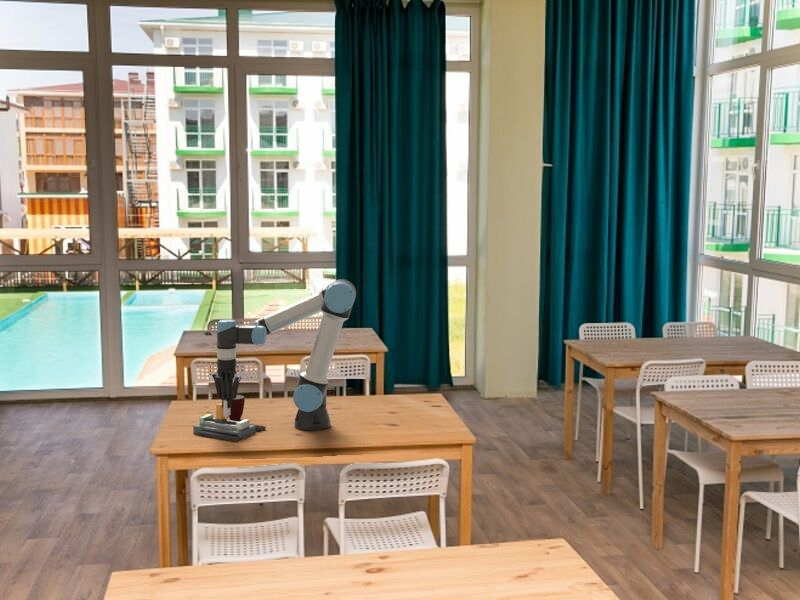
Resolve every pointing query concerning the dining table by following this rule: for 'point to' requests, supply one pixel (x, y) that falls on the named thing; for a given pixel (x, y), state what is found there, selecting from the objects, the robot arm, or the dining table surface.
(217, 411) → the lever
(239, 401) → the mug
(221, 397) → the robot arm
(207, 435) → the cord
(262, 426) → the cord
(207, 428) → the gray slotted base
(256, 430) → the grey rod
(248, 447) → the dining table surface
